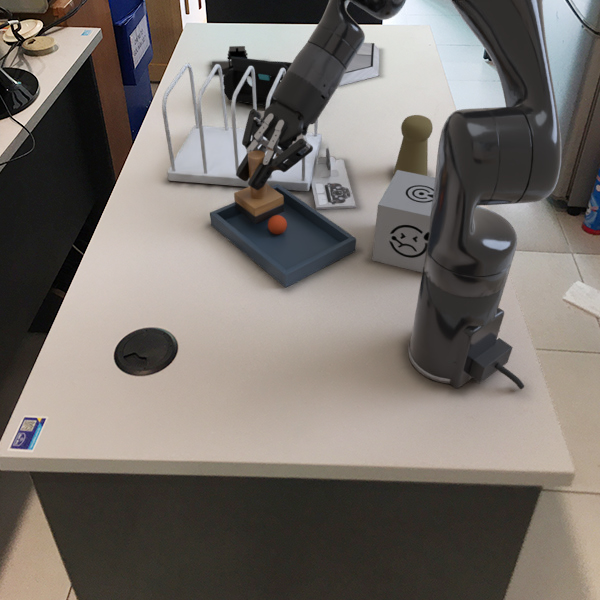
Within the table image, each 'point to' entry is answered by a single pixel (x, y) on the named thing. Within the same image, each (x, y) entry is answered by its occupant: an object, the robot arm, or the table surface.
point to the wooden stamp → (258, 195)
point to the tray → (286, 239)
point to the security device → (363, 65)
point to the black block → (234, 52)
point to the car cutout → (331, 184)
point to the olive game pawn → (414, 145)
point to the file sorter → (229, 144)
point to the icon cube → (404, 221)
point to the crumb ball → (277, 224)
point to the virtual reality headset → (263, 77)
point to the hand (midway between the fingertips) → (247, 182)
